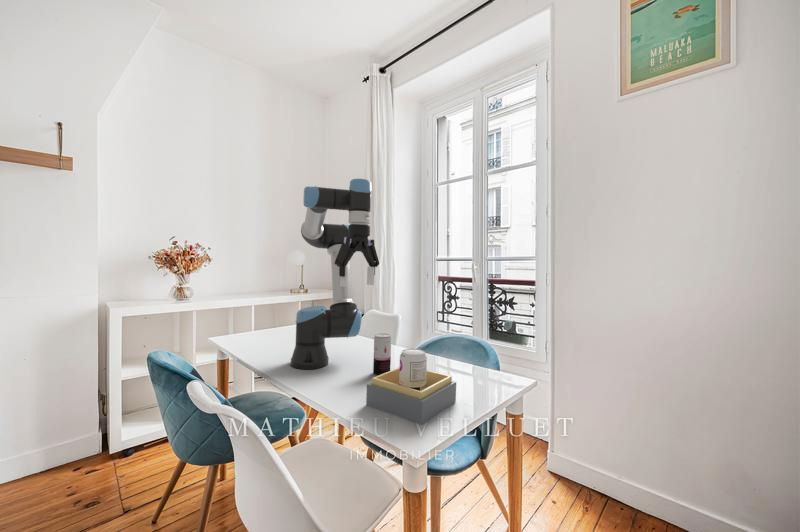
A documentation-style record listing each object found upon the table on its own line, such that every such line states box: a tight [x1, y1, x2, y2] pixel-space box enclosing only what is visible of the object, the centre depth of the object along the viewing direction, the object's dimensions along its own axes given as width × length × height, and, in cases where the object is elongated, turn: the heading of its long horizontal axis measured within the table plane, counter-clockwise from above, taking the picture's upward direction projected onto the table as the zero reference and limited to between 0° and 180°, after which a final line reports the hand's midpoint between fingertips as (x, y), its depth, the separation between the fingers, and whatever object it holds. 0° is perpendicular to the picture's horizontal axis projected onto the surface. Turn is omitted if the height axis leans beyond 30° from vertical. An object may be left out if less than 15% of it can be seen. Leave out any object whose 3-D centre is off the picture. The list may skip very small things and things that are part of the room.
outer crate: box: [365, 380, 457, 425], centre depth 108 cm, size 20×20×7 cm
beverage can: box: [372, 332, 392, 377], centre depth 137 cm, size 6×7×15 cm
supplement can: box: [399, 348, 428, 391], centre depth 108 cm, size 8×8×15 cm
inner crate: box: [371, 366, 453, 400], centre depth 108 cm, size 17×17×8 cm
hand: (357, 285), depth 124 cm, fingers open, 13 cm apart
